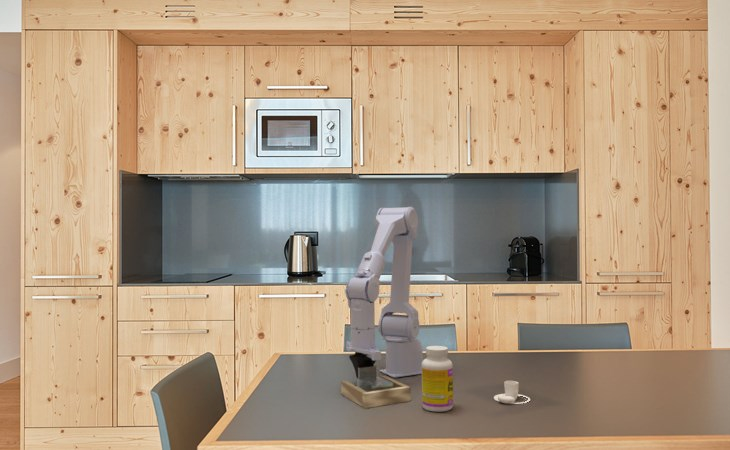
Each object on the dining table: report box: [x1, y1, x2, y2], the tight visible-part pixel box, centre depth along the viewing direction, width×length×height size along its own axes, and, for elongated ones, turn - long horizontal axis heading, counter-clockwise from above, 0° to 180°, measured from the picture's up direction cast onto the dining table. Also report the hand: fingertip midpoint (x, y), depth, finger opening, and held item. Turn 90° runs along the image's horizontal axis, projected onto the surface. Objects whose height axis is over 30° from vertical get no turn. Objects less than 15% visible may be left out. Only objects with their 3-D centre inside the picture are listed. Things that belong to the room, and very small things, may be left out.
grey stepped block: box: [356, 364, 393, 392], centre depth 133 cm, size 8×6×6 cm
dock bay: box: [340, 374, 412, 409], centre depth 133 cm, size 11×12×3 cm
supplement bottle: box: [421, 345, 454, 413], centre depth 125 cm, size 7×7×13 cm
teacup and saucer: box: [493, 380, 531, 405], centre depth 131 cm, size 9×8×4 cm
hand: (363, 385), depth 139 cm, fingers closed
